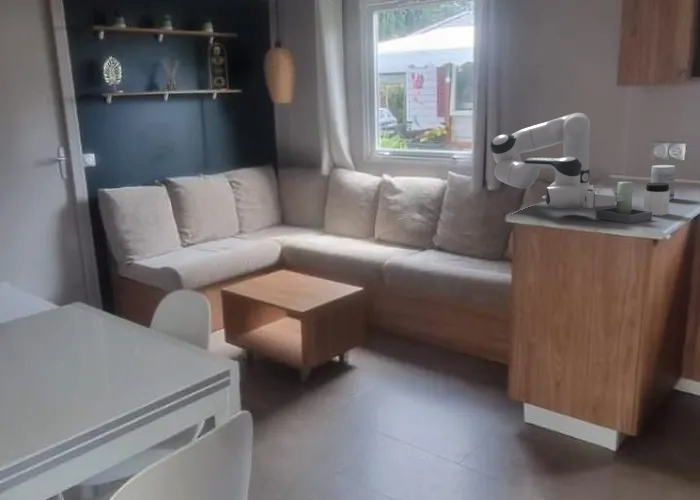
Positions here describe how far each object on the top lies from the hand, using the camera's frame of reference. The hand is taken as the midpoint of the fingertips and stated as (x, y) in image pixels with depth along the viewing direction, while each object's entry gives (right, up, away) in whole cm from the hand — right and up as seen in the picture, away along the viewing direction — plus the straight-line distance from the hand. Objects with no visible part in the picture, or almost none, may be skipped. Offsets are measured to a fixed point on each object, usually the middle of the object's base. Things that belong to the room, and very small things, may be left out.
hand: (626, 196), depth 250 cm
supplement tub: (+32, +2, +40) cm, 52 cm away
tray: (0, -8, +2) cm, 9 cm away
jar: (+15, -6, +9) cm, 19 cm away
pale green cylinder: (-1, -6, +2) cm, 7 cm away
